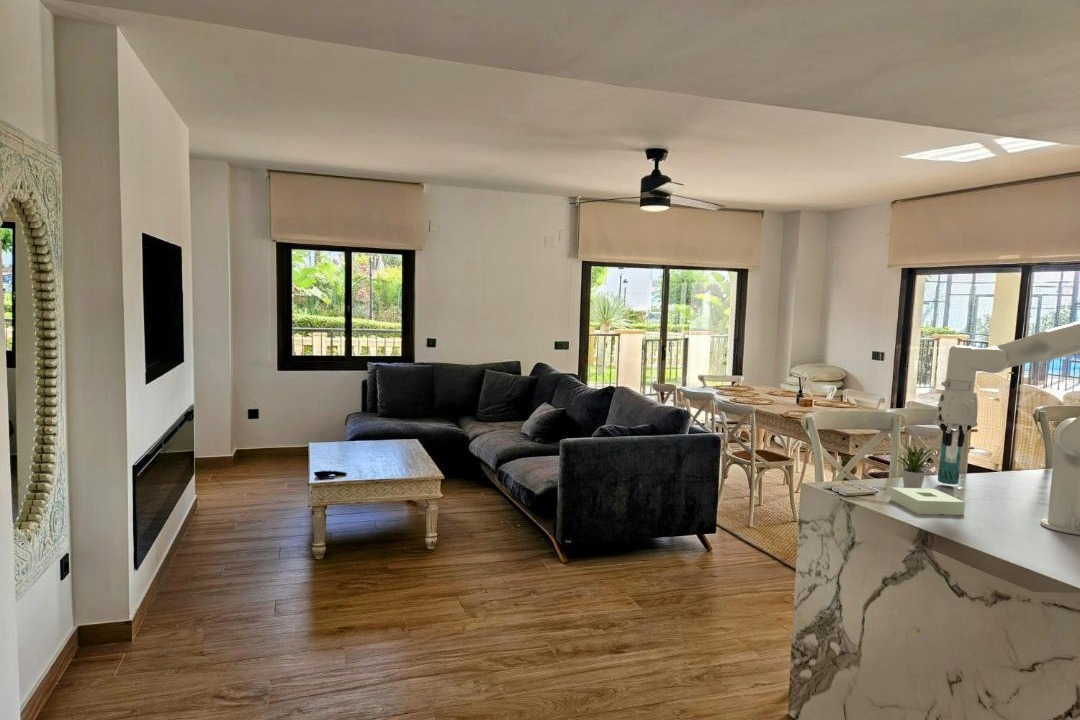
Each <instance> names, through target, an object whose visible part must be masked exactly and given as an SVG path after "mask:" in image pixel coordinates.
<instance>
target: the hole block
mask: <svg viewBox="0 0 1080 720" xmlns="http://www.w3.org/2000/svg"><path fill="white" fill-rule="evenodd" d="M890 500H891V501H892V502H894V503H896V504H898V505H900V506H902V507H904V508H906V509H907V510H909V511H911V512H913V513H915V514H917V515H939V514H944V515H946V516H964V515H965V506H966V502H965V500H964V501H961V500H959V499H957V498H954V497H953V495H949V494H947V493H945V492H943V491H940V490H938V489H936V488H927V487H926V488H922V487H921V488H904V487H891V488H890ZM944 515H943V516H944Z"/></svg>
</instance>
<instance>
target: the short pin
mask: <svg viewBox="0 0 1080 720" xmlns="http://www.w3.org/2000/svg"><path fill="white" fill-rule="evenodd" d="M965 490H966V487H964V486H963V487H962V486H955V485H954V486H953V491H952V497H954V498H957V499H959V500H961V501H964V502H965V492H966V491H965Z"/></svg>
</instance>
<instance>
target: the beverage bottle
mask: <svg viewBox="0 0 1080 720" xmlns="http://www.w3.org/2000/svg"><path fill="white" fill-rule="evenodd" d="M961 453H962V447H959V446H958V452H957V460H956V463H950V462H946V461H945V455H946V445H943V444H942V441H940V453H939V460H938V468H937V469H938V471H937V481H938V483H942V484H946V485H954V486H955V485H959V482H960V473H961V469H960V467H961V466H960V465H961V460H962V457H961V456H962V455H961Z"/></svg>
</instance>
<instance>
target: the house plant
mask: <svg viewBox="0 0 1080 720" xmlns="http://www.w3.org/2000/svg"><path fill="white" fill-rule="evenodd" d="M893 446H895V447H896V448H898V449H899V450H900V451H901V452H902V453H903V455H904V457H905V458H906V459H907V460H906V459H905V458H903V457H901V456H899V455H897V457H898V458H899V459H900V460H899V459H896V460H895V461H896V462H899V463H901V464H902V465H903V466H904V467H905V468H902V469H901V472H902V483H903V488H922V486H923V483H924V480H925V475H926V471H925V470H923V469H927V467H929V466H930V464H932V462H937V460H935V459H934V460H933V459H932V460H926V459H927V458H929V457H930V456H931V455H934V453H936V451H934V450H935V449H938V450H939V449H940V447H933V448H930V449H928V450H926V451H925V445H922V446H921V447H920V448H919V449H917V446H916V444H915V443H914V442H912V446H913V449H912V448H911V446H909V444H908V443H906V445H905V446H906V449H907V452H906V451H905V450H903V449H901V448H900V447H898V446H896V445H894V444H893ZM924 451H925V452H924ZM932 451H933V452H932ZM913 452H914V453H913ZM930 452H931V453H930ZM923 453H924V454H923ZM928 453H929V454H928ZM922 454H923V455H922ZM927 454H928V455H927ZM926 455H927V456H926ZM925 456H926V457H925ZM922 459H923V460H922ZM902 461H903V462H902ZM926 466H927V467H926Z"/></svg>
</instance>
